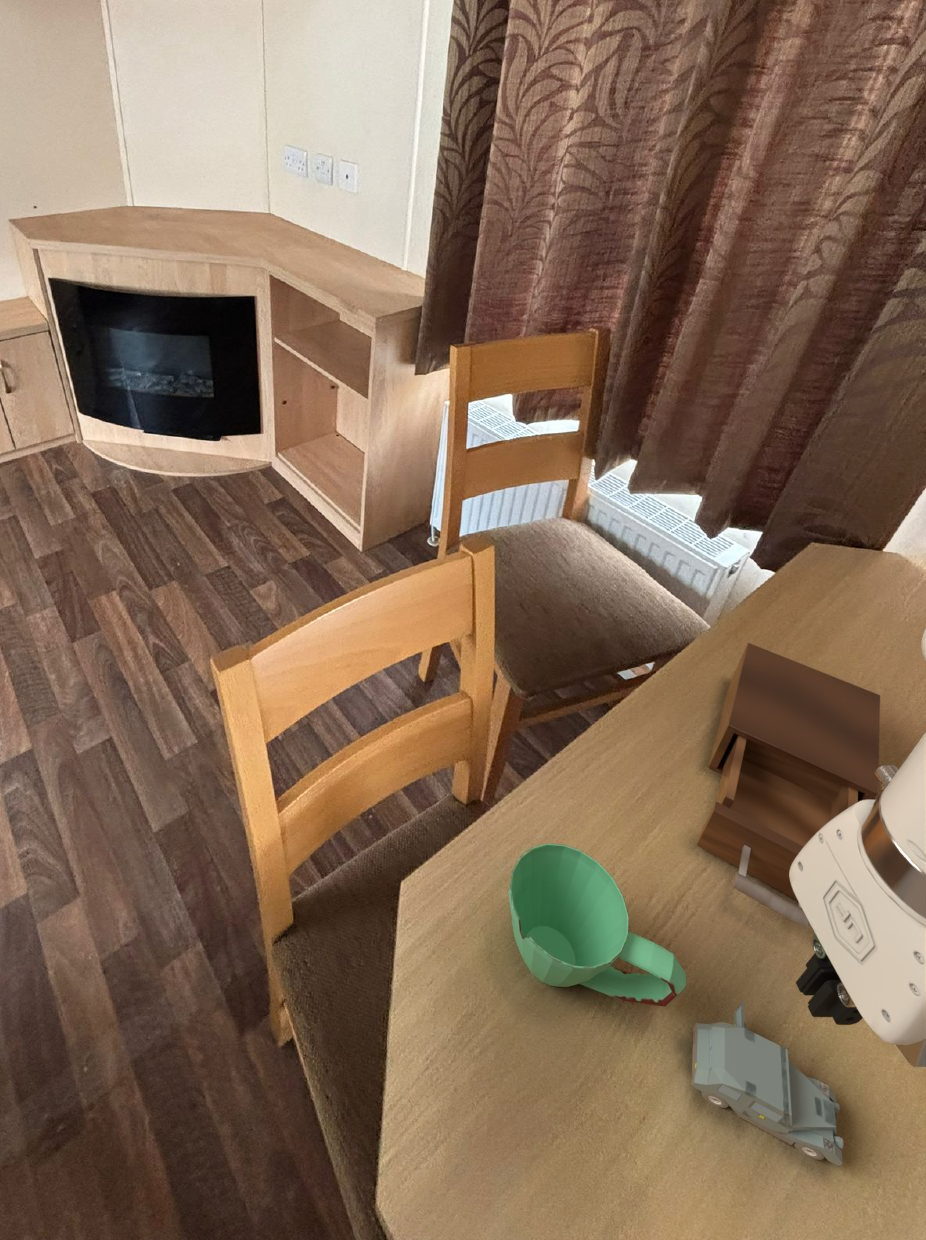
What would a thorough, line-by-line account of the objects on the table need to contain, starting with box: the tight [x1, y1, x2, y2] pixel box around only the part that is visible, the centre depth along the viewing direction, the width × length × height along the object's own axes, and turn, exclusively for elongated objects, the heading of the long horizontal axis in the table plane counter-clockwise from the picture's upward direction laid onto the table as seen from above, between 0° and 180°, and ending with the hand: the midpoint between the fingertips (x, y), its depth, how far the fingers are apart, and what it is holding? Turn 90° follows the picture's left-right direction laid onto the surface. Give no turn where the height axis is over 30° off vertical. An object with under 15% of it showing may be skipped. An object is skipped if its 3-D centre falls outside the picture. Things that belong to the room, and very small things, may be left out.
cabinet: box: [707, 642, 881, 802], centre depth 79 cm, size 15×14×8 cm
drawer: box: [696, 734, 858, 929], centre depth 69 cm, size 18×12×6 cm
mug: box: [507, 842, 687, 1008], centre depth 60 cm, size 15×10×10 cm
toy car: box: [691, 1002, 844, 1167], centre depth 54 cm, size 6×10×5 cm, turn 63°
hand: (824, 1000), depth 48 cm, fingers closed
